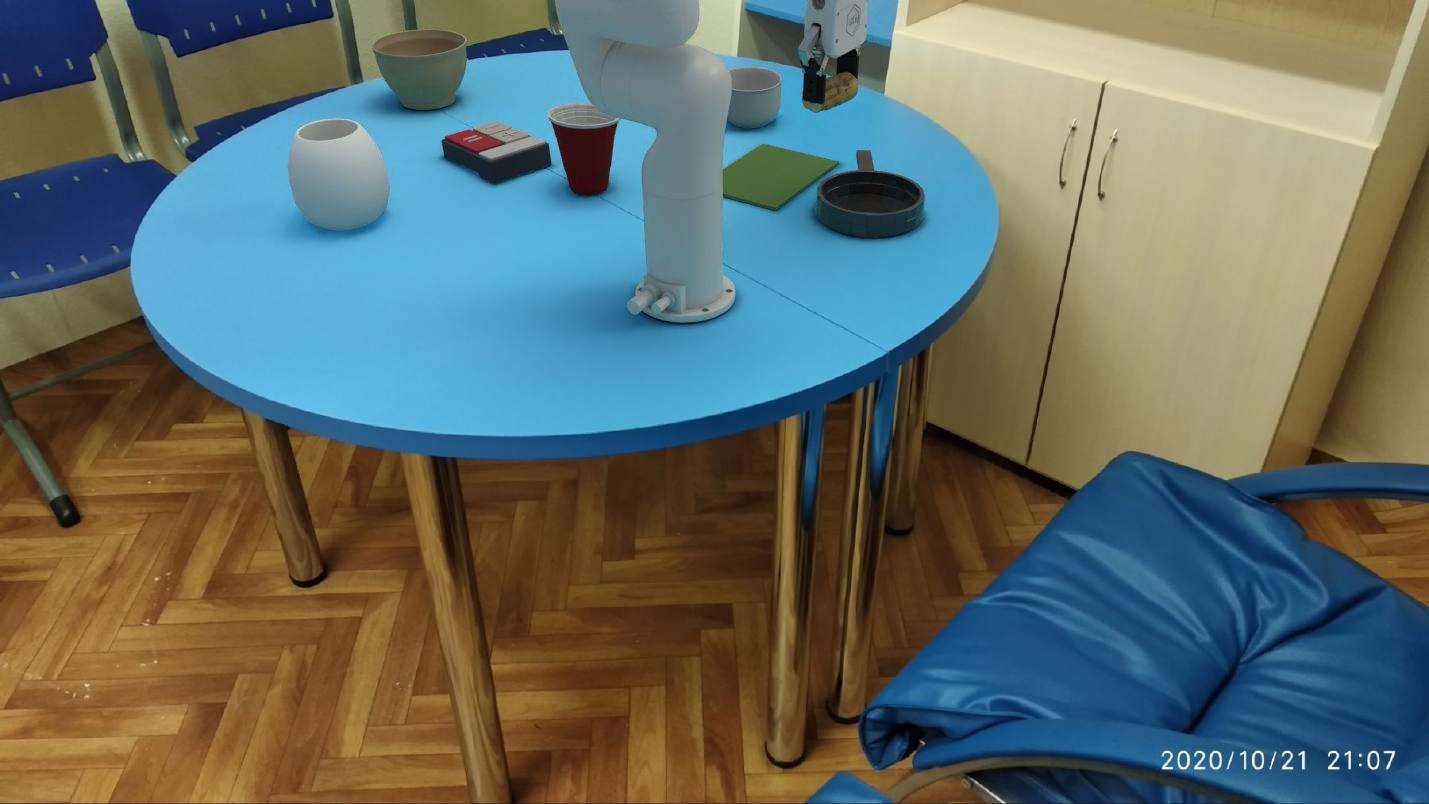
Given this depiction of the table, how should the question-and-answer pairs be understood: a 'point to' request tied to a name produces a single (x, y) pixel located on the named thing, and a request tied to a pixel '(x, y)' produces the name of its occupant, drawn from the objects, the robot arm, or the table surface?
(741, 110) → the teacup
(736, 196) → the green mat
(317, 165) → the white vase
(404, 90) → the planter bowl
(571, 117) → the plastic cup
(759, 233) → the table surface
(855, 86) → the carved stone cylinder
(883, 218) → the pan
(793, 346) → the table surface
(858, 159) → the pan handle
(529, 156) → the calculator
